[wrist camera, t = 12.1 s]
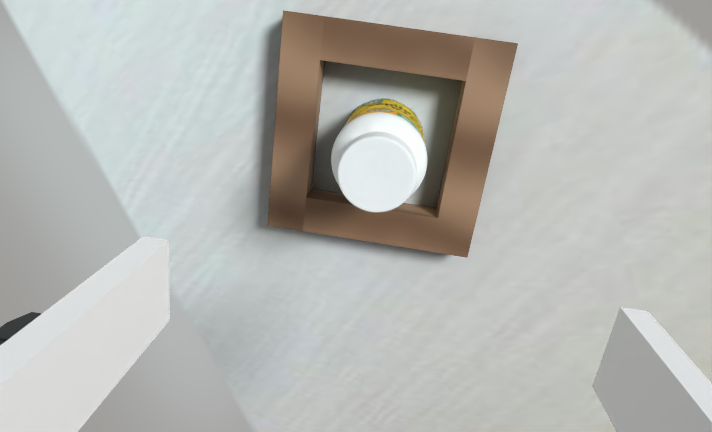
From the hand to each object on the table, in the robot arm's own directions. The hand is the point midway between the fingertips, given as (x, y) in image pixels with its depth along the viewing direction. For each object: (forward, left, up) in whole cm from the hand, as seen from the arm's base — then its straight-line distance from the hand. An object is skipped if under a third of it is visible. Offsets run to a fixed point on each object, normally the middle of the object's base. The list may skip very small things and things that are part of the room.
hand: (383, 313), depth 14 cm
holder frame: (+1, +1, -21) cm, 21 cm away
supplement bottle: (+1, +1, -21) cm, 21 cm away
